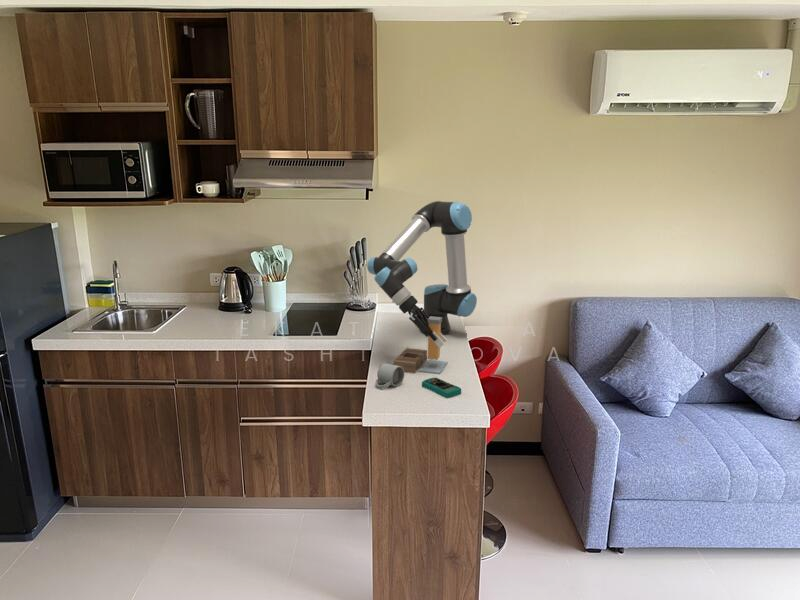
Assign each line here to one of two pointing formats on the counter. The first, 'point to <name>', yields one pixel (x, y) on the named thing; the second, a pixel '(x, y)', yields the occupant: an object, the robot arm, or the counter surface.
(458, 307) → the robot arm
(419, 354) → the wooden socket block
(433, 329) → the plug
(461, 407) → the counter surface
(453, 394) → the digital multimeter
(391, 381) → the ceramic mug
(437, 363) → the mat
